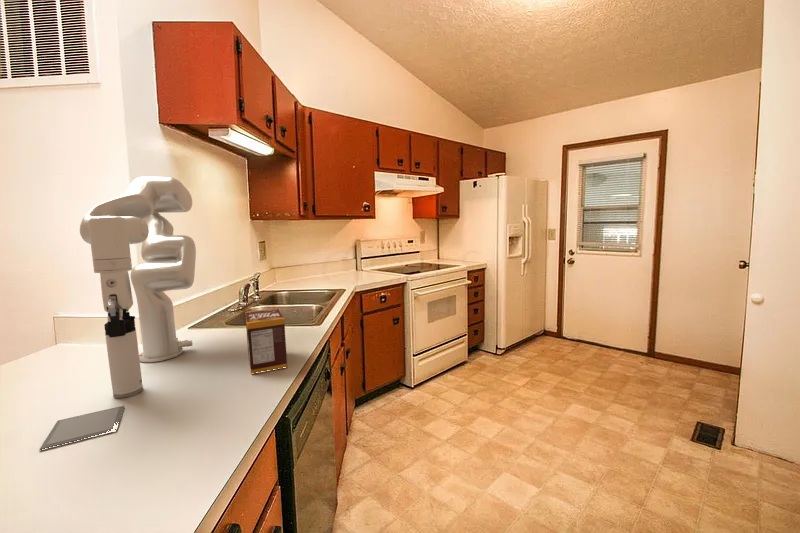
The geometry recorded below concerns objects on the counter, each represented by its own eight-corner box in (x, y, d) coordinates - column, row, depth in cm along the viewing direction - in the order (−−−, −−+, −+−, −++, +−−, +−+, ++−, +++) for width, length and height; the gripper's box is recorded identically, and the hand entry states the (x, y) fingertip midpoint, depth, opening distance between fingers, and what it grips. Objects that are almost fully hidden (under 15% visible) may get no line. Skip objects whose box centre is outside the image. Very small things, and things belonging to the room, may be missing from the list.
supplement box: (281, 352, 121) (278, 307, 119) (287, 368, 107) (284, 318, 105) (248, 357, 117) (244, 311, 115) (250, 375, 103) (246, 323, 101)
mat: (124, 407, 86) (124, 404, 86) (116, 431, 76) (116, 429, 76) (57, 422, 80) (57, 420, 80) (39, 451, 70) (39, 448, 70)
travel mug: (149, 388, 96) (141, 316, 93) (124, 400, 90) (114, 323, 87) (133, 385, 98) (125, 314, 95) (107, 396, 92) (97, 321, 89)
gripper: (127, 267, 84) (135, 337, 86) (135, 262, 99) (141, 322, 100) (85, 269, 80) (94, 343, 82) (100, 264, 95) (108, 326, 97)
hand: (120, 331), depth 91 cm, fingers open, 9 cm apart
